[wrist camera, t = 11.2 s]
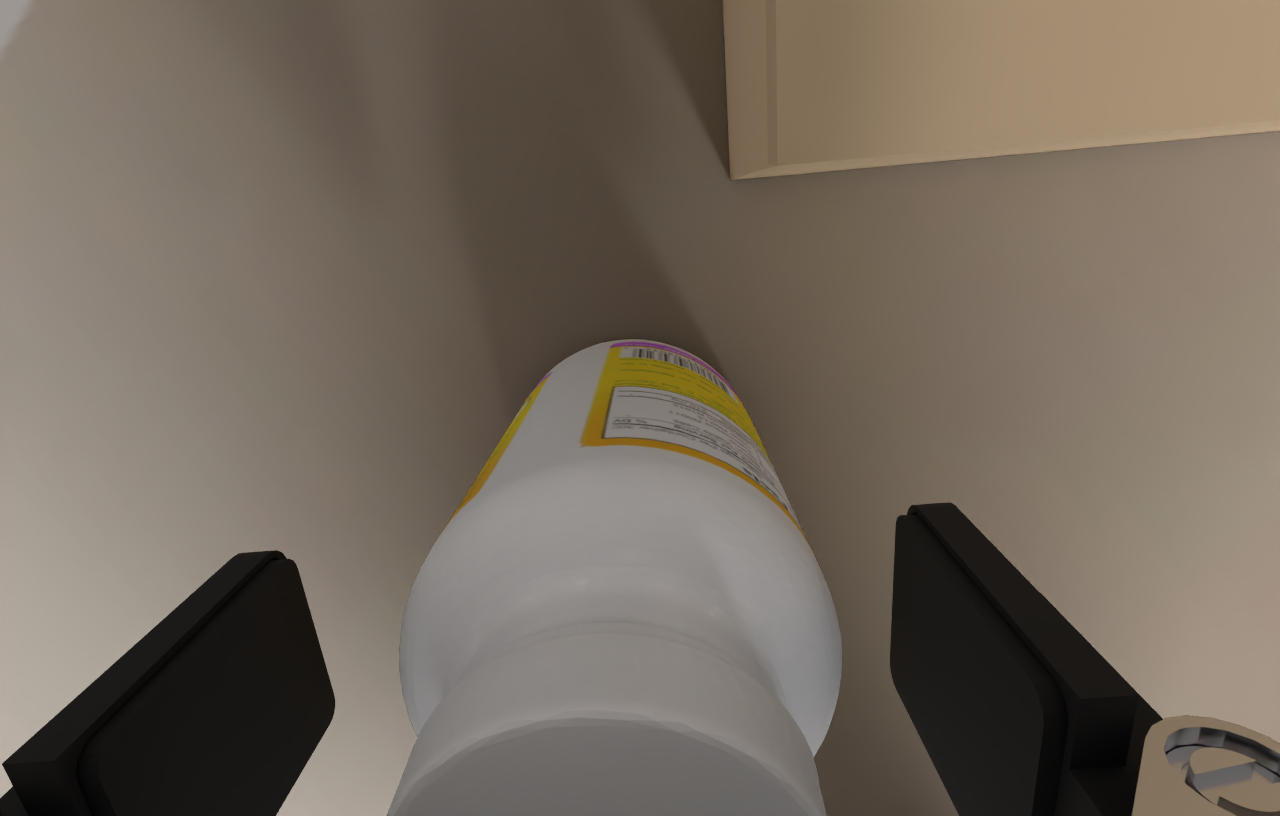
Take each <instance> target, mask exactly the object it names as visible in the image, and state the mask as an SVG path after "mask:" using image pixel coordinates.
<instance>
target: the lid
mask: <svg viewBox="0 0 1280 816" xmlns="http://www.w3.org/2000/svg"><path fill="white" fill-rule="evenodd" d="M766 67H767V138H768V164H770V165H777V166H778V165H789V164H800V163H811V162H822V161H833V160H844V159H855V158H866V157H877V156H888V155H899V154H910V153H921V152H932V151H943V150H954V149H965V148H976V147H987V146H998V145H1009V144H1021V143H1032V142H1043V141H1054V140H1065V139H1076V138H1087V137H1098V136H1109V135H1120V134H1131V133H1142V132H1153V131H1164V130H1175V129H1186V128H1197V127H1208V126H1219V125H1230V124H1241V123H1252V122H1263V121H1274V120H1280V0H766Z"/></svg>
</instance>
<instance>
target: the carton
mask: <svg viewBox="0 0 1280 816" xmlns="http://www.w3.org/2000/svg"><path fill="white" fill-rule="evenodd" d="M723 19H724V43H725V66H726V90H727V114H728V137H729V161H730V180H740V179H751V178H763V177H774V176H785V175H796V174H807V173H818V172H829V171H840V170H851V169H863V168H874V167H885V166H896V165H907V164H918V163H929V162H940V161H951V160H962V159H974V158H985V157H996V156H1007V155H1018V154H1029V153H1040V152H1051V151H1062V150H1073V149H1085V148H1096V147H1107V146H1118V145H1129V144H1140V143H1151V142H1162V141H1173V140H1185V139H1196V138H1207V137H1218V136H1229V135H1240V134H1251V133H1262V132H1273V131H1280V120H1274V121H1263V122H1252V123H1241V124H1230V125H1219V126H1208V127H1197V128H1186V129H1175V130H1164V131H1153V132H1142V133H1131V134H1120V135H1109V136H1098V137H1087V138H1076V139H1065V140H1054V141H1043V142H1032V143H1021V144H1009V145H998V146H987V147H976V148H965V149H954V150H943V151H932V152H921V153H910V154H899V155H888V156H877V157H866V158H855V159H844V160H833V161H822V162H811V163H800V164H789V165H778V166H777V165H770V164H768V138H767V67H766V0H723Z"/></svg>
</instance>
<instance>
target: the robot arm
mask: <svg viewBox="0 0 1280 816" xmlns="http://www.w3.org/2000/svg"><path fill="white" fill-rule="evenodd" d="M890 668H891V674H892V679H893V682H894V685H895V687H896V690H897V692H898V694H899V696H900V698H901V700H902V702H903V704H904V706H905V708H906V710H907V712H908V714H909V716H910V718H911V720H912V722H913V724H914V726H915V728H916V730H917V732H918V734H919V736H920V738H921V740H922V742H923V744H924V746H925V748H926V750H927V752H928V754H929V756H930V758H931V760H932V762H933V764H934V766H935V768H936V770H937V772H938V774H939V776H940V778H941V780H942V782H943V784H944V786H945V788H946V790H947V792H948V794H949V796H950V798H951V800H952V802H953V804H954V806H955V808H956V810H957V812H958V814H959V816H1280V743H1278V742H1277V741H1275V740H1273V739H1272V738H1270V737H1267V736H1265V735H1262V734H1260V733H1258V732H1255V731H1253V730H1250V729H1248V728H1246V727H1243V726H1241V725H1237V724H1234V723H1230V722H1226V721H1222V720H1218V719H1215V718H1209V717H1199V716H1189V715H1185V716H1177V717H1169V718H1165V719H1162V718H1161V717H1160V715H1159V714H1158V713H1157V712H1156V711H1155V710H1154V709H1153V708H1152V707H1151V706H1150V705H1149V704H1148V703H1147V702H1146V701H1145V700H1144V699H1143V698H1142V697H1141V696H1140V695H1139V694H1138V693H1137V692H1136V691H1135V690H1134V689H1133V688H1132V687H1131V686H1130V685H1129V684H1128V683H1127V682H1126V680H1125V679H1124V678H1123V677H1122V676H1121V675H1120V674H1119V673H1118V672H1117V671H1116V670H1115V669H1114V668H1113V667H1112V666H1111V665H1110V664H1109V663H1108V662H1107V661H1106V660H1105V659H1104V658H1103V657H1102V656H1101V655H1100V654H1099V653H1098V652H1097V651H1096V650H1095V649H1094V648H1093V647H1092V645H1091V644H1090V643H1089V642H1088V641H1087V640H1086V639H1085V638H1084V637H1083V636H1082V635H1081V634H1080V633H1079V632H1078V631H1077V630H1076V629H1075V628H1074V627H1073V626H1072V625H1071V624H1070V623H1069V622H1068V621H1067V620H1066V619H1065V618H1064V617H1063V616H1062V615H1061V614H1060V613H1059V611H1058V610H1057V609H1056V608H1055V607H1054V606H1053V605H1052V604H1051V603H1050V602H1049V601H1048V600H1047V599H1046V598H1045V597H1044V596H1043V595H1042V594H1041V593H1040V592H1038V591H1037V590H1036V589H1035V587H1034V586H1033V585H1032V584H1031V583H1030V582H1029V581H1028V580H1027V579H1026V578H1025V577H1024V576H1023V575H1022V574H1021V573H1020V572H1019V571H1018V570H1017V569H1016V568H1015V567H1014V566H1013V565H1012V564H1011V563H1010V562H1009V561H1008V560H1007V559H1006V558H1005V557H1004V555H1003V554H1002V553H1001V552H1000V551H999V550H998V549H997V548H996V547H995V546H994V545H993V544H992V543H991V542H990V541H989V540H988V539H987V538H986V537H985V536H984V535H983V534H982V533H981V532H980V531H979V530H978V529H977V528H976V527H975V526H974V525H973V524H972V522H971V521H970V520H969V519H968V518H967V517H966V516H965V515H964V514H963V513H962V512H961V511H960V510H959V509H958V508H957V507H956V506H955V505H954V504H952V503H936V504H922V505H912V506H911V507H910V508H909V510H908V513H907V515H901V516H899V517H898V518H897V521H896V533H895V556H894V579H893V603H892V626H891V649H890ZM334 710H335V697H334V693H333V689H332V686H331V682H330V679H329V675H328V672H327V668H326V665H325V661H324V658H323V654H322V651H321V648H320V644H319V641H318V637H317V634H316V630H315V627H314V623H313V620H312V616H311V613H310V609H309V606H308V602H307V599H306V595H305V592H304V588H303V585H302V582H301V578H300V575H299V571H298V568H297V566H296V563H295V562H294V561H293V560H291V559H286V557H285V555H284V554H283V553H282V552H280V551H263V552H249V553H239V554H237V555H236V556H234V557H233V558H232V559H230V560H229V561H228V562H227V563H226V564H225V565H224V566H223V567H222V568H220V569H219V570H218V571H217V572H216V573H215V574H214V575H213V576H211V577H210V578H209V579H208V580H207V581H206V582H205V583H204V584H203V585H201V586H200V587H199V588H198V589H197V590H196V591H195V592H194V593H192V594H191V595H190V596H189V597H188V598H187V599H186V600H185V601H184V602H182V603H181V604H180V605H179V606H178V607H177V608H176V609H175V610H173V611H172V612H171V613H170V614H169V615H168V616H167V617H166V618H165V619H163V620H162V621H161V622H160V623H159V624H158V625H157V626H156V627H154V628H153V629H152V630H151V631H150V632H149V633H148V634H147V635H146V636H144V637H143V638H142V639H141V640H140V641H139V642H138V643H137V644H135V645H134V646H133V647H132V648H131V649H130V650H129V651H128V652H127V653H125V654H124V655H123V656H122V657H121V658H120V659H119V660H118V661H116V662H115V663H114V664H113V665H112V666H111V667H110V668H109V669H107V670H106V671H105V672H104V673H103V674H102V675H101V676H100V677H99V678H97V679H96V680H95V681H94V682H93V683H92V684H91V685H90V686H88V687H87V688H86V689H85V690H84V691H83V692H82V693H81V694H80V695H78V696H77V697H76V698H75V699H74V700H73V701H72V702H71V703H69V704H68V705H67V706H66V707H65V708H64V709H63V710H62V711H61V712H59V713H58V714H57V715H56V716H55V717H54V718H53V719H52V720H50V721H49V722H48V723H47V724H46V725H45V726H44V727H43V728H42V729H40V730H39V731H38V732H37V733H36V734H35V735H34V736H33V737H31V738H30V739H29V740H28V741H27V742H26V743H25V744H24V745H23V746H21V747H20V748H19V749H18V750H17V751H16V752H15V753H14V754H12V755H11V756H10V757H9V758H8V759H7V760H6V761H5V762H4V763H2V765H3V767H4V769H5V771H6V773H7V775H8V777H9V779H10V781H11V783H12V785H13V787H12V788H11V789H10V790H9V791H8V792H7V793H6V794H4V795H3V796H2V797H1V798H0V816H276V814H277V813H278V811H279V809H280V808H281V806H282V804H283V802H284V801H285V799H286V797H287V796H288V794H289V792H290V791H291V789H292V787H293V786H294V784H295V782H296V780H297V779H298V777H299V775H300V774H301V772H302V770H303V769H304V767H305V765H306V764H307V762H308V760H309V758H310V757H311V755H312V753H313V752H314V750H315V748H316V747H317V745H318V743H319V742H320V740H321V738H322V736H323V735H324V733H325V731H326V730H327V728H328V726H329V725H330V723H331V720H332V718H333V715H334Z"/></svg>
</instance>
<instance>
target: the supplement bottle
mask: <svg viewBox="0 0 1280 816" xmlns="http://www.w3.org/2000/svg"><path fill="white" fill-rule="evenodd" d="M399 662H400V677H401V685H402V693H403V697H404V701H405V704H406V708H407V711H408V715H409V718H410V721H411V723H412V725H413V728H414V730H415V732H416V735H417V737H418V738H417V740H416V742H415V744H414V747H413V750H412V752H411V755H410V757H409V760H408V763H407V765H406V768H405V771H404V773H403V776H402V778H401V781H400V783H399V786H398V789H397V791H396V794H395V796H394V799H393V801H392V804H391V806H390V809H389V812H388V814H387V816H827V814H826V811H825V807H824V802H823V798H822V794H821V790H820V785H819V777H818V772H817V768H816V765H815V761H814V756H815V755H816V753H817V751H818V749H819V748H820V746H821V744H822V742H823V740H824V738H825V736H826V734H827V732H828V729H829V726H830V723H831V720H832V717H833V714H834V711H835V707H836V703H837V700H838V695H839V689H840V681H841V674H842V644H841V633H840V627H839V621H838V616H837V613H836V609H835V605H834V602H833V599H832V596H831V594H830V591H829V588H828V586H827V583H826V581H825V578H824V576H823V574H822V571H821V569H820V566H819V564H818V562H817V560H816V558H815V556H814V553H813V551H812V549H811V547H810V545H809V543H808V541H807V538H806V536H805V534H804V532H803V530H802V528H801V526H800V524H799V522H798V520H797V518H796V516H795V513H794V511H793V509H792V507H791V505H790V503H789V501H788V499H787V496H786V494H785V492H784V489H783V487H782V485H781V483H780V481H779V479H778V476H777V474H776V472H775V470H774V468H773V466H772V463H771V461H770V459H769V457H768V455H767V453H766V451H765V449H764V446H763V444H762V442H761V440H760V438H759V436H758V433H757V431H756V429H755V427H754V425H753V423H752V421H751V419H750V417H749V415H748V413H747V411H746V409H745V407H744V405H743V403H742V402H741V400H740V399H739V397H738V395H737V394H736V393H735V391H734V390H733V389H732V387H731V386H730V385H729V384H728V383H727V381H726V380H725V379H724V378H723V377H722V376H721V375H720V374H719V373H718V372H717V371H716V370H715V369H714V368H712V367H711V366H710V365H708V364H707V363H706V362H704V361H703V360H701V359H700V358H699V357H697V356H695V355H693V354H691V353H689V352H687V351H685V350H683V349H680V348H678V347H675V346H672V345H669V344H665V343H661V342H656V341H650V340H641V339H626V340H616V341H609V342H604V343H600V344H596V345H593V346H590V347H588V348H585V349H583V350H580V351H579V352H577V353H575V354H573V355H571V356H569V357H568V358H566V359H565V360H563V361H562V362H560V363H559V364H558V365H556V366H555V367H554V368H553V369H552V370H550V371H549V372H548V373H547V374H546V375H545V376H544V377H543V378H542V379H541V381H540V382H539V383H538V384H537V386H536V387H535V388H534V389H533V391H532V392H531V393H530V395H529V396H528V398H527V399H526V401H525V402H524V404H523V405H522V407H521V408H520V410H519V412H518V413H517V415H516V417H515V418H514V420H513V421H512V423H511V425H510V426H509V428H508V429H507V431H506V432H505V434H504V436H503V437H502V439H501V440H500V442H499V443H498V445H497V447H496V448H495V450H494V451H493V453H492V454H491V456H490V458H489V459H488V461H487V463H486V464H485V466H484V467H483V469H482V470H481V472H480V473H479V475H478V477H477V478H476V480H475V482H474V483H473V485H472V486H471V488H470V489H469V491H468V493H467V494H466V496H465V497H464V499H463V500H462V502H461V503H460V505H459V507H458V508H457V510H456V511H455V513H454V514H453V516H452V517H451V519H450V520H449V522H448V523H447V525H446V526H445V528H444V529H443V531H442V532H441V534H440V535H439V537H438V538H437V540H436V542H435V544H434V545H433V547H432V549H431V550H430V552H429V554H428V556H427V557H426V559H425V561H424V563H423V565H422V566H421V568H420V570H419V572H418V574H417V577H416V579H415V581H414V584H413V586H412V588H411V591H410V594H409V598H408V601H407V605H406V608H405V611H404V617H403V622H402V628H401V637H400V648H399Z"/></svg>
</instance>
